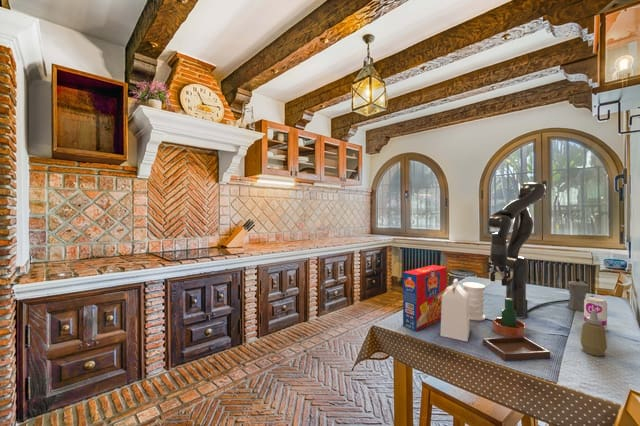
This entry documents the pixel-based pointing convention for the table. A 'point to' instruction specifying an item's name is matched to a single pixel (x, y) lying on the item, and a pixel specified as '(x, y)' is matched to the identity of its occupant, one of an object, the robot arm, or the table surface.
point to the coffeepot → (577, 294)
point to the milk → (455, 313)
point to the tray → (516, 348)
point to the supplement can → (597, 305)
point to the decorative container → (475, 300)
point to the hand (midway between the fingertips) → (498, 283)
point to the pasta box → (423, 296)
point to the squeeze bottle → (593, 335)
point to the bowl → (508, 331)
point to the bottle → (508, 314)
